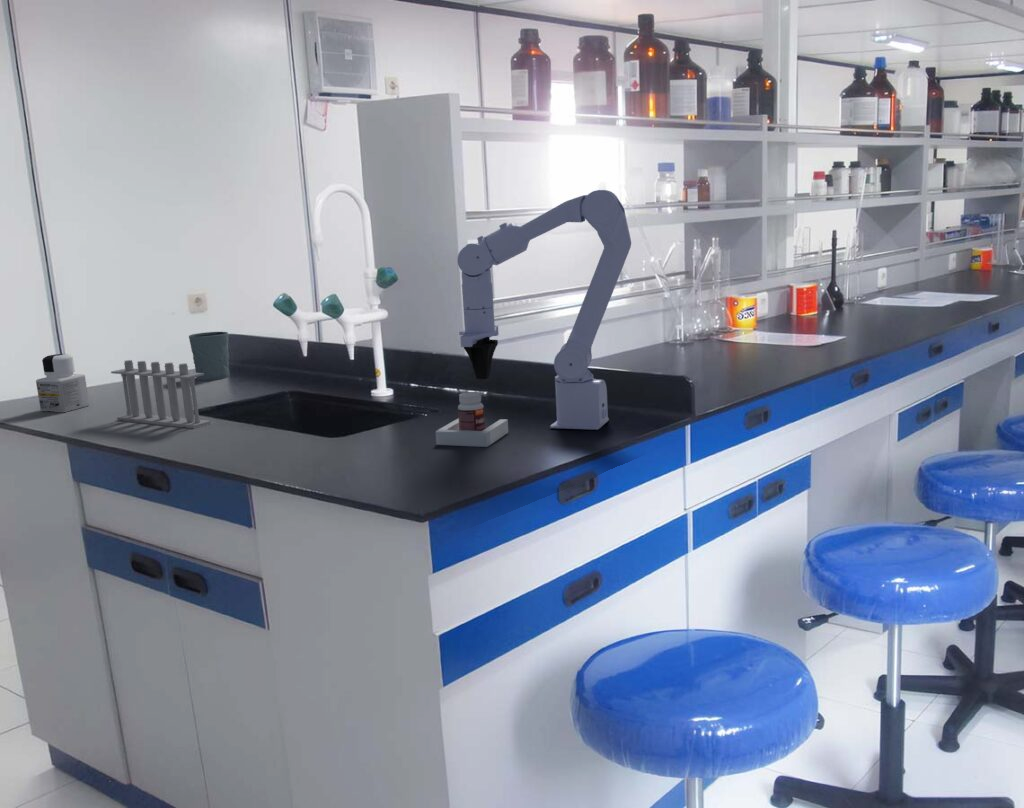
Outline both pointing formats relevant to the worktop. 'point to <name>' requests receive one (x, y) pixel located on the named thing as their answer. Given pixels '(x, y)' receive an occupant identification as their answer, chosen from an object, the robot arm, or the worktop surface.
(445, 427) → the square dock
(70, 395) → the container
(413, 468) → the worktop surface
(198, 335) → the dark green cup
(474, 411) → the pill bottle
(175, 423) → the test tube rack
